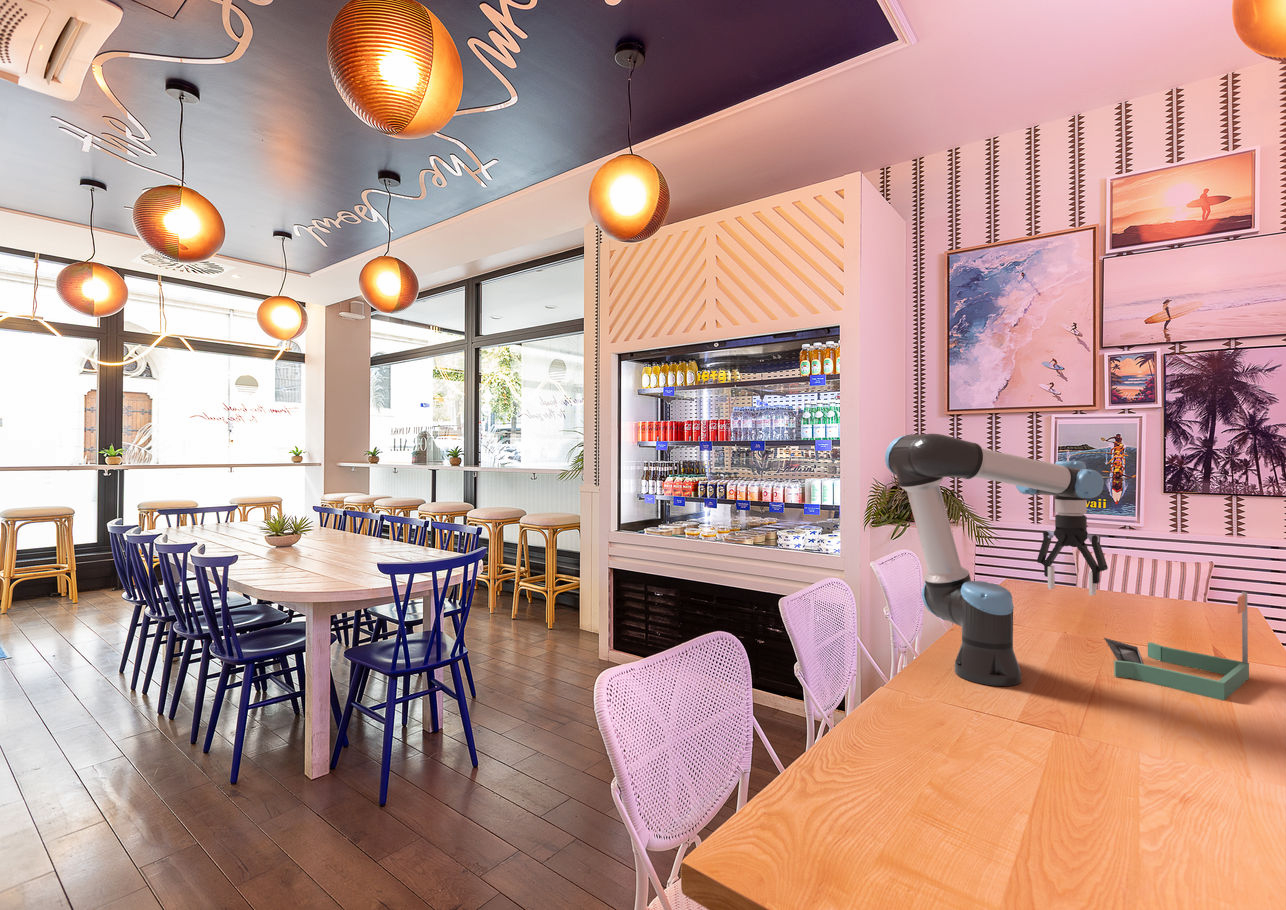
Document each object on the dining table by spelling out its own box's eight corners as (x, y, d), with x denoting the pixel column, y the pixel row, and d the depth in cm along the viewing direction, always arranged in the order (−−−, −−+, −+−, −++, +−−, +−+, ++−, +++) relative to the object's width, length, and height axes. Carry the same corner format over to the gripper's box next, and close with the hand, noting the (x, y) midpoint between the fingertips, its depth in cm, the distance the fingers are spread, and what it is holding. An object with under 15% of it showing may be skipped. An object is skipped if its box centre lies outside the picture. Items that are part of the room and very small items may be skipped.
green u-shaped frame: (1112, 676, 160) (1112, 591, 160) (1148, 655, 175) (1148, 578, 175) (1221, 702, 143) (1220, 607, 143) (1250, 677, 158) (1250, 591, 158)
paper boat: (1163, 665, 164) (1150, 662, 160) (1145, 682, 167) (1132, 679, 162) (1120, 631, 174) (1107, 627, 169) (1104, 647, 176) (1090, 644, 171)
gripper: (1122, 516, 172) (1122, 596, 172) (1034, 510, 190) (1034, 583, 190) (1112, 518, 168) (1112, 600, 168) (1023, 512, 186) (1023, 586, 186)
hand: (1071, 591), depth 179 cm, fingers open, 10 cm apart
